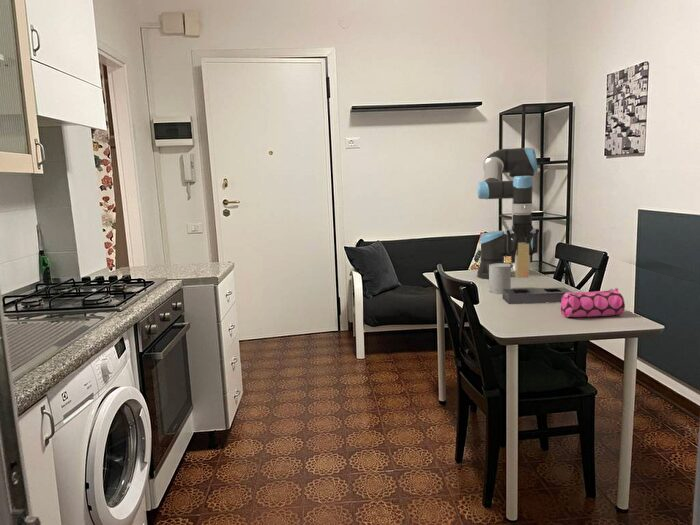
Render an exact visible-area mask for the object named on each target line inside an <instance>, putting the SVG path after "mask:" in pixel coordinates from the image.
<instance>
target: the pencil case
mask: <svg viewBox="0 0 700 525" xmlns="http://www.w3.org/2000/svg"><path fill="white" fill-rule="evenodd" d="M625 308H626V305H625V298H624V296H623V295H622V293H620V292H619V288H618V287H614V289H613V288H610V289H603V290H597V291H582V292H581V291H579V292H573V291H571V292H568V293H566V294H564V295H563V296H562V299H561V302H560V313H561V315H562V316H563V317H565V318H587V317H588V318H590V317H610V316H620V315H622V314H623V313H624V311H625V310H626V309H625Z"/></svg>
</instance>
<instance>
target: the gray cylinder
mask: <svg viewBox="0 0 700 525" xmlns="http://www.w3.org/2000/svg"><path fill="white" fill-rule="evenodd" d="M511 268H512V265H511V264H510V263H505V262H504V263H495V264H490V265H489V279H488V292H489V293H490V294H493V293H494V295H495V294H496V295H503V289H512V288H511V283H512V282H511V280H512V279H511V278H512V275H511V274H512V270H511Z"/></svg>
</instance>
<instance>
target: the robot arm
mask: <svg viewBox="0 0 700 525" xmlns="http://www.w3.org/2000/svg"><path fill="white" fill-rule="evenodd" d="M536 154H537V153H536V149H534V148H533V147H517V148H516V147H515V148H501V149H498V150H495V151H493V152H491V153H490V154H488V156H487V157H486V158H485V159H484V161H483V166H482V169H483V172H484V175H483V181H479V182H477V198H478V199H479V200H498V199H499V200H502V199H503V200H504V199H506V200H508V199H510V200H511V209H512V210H511V228H508V229H505V231H504V230H496V231H488V232H484V233H482V234H481V236H480V262H479V265H478V269H477V273H476V276H477V277H478V278H481V279H487V280H489V265H490V264H495V263H504V264H505V257H509V258H510V260H511V263H513V268H512V269H513V271H514V272H515V271H517V255H515V254H516V250H517V244H518V243H521V242H526V243H529V272H530V270H531V263H533V255H534V254H537V253H538V245H539V244H538V241H539V240H538V237H539V236H538V235H539V233H540V229H539V228H535V227H533V215H532V213H533V189H534V188H533V186H534V182H533V181H534V180H533V178H534V177H535V173H537V172H538V162H537V155H536ZM502 174H508V177H509V178H510V179H511V180H502Z"/></svg>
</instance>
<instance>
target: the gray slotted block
mask: <svg viewBox="0 0 700 525" xmlns="http://www.w3.org/2000/svg"><path fill="white" fill-rule="evenodd" d="M568 292H572V291H571V290H570V289H568V288H566V287H564V286H563V287H538V288H537V287H536V288H534V287H531V288H511V289H503V294H502V300H504V301H505V302H506V303H507V304H508V305H515V304H517V305H519V304H521V305H522V304H523V303H525V304H547V303H546V302H560V303H561V299H562V296H563V295H564V294H566V293H568Z"/></svg>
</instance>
